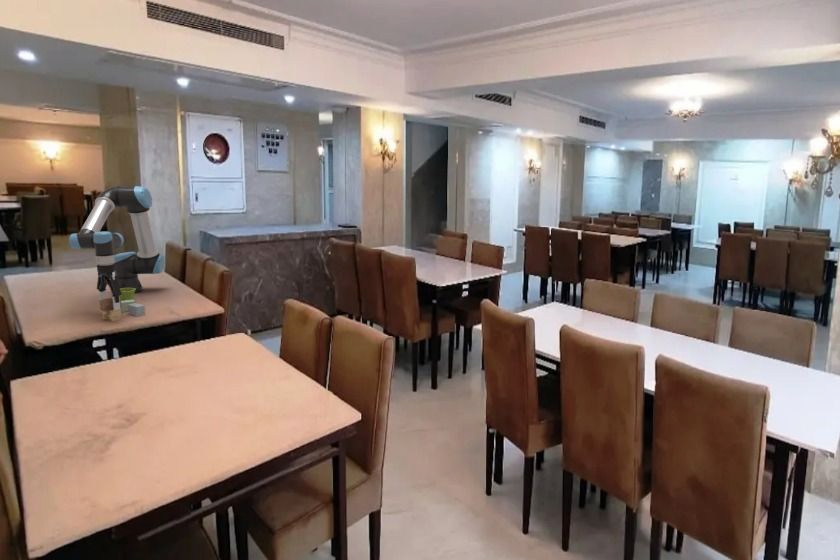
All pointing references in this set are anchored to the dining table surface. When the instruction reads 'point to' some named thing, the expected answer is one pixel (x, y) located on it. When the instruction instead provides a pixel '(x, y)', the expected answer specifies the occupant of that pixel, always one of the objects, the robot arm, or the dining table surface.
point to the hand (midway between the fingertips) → (110, 306)
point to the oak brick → (112, 315)
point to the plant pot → (127, 294)
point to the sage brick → (126, 305)
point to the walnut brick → (107, 304)
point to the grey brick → (136, 309)
